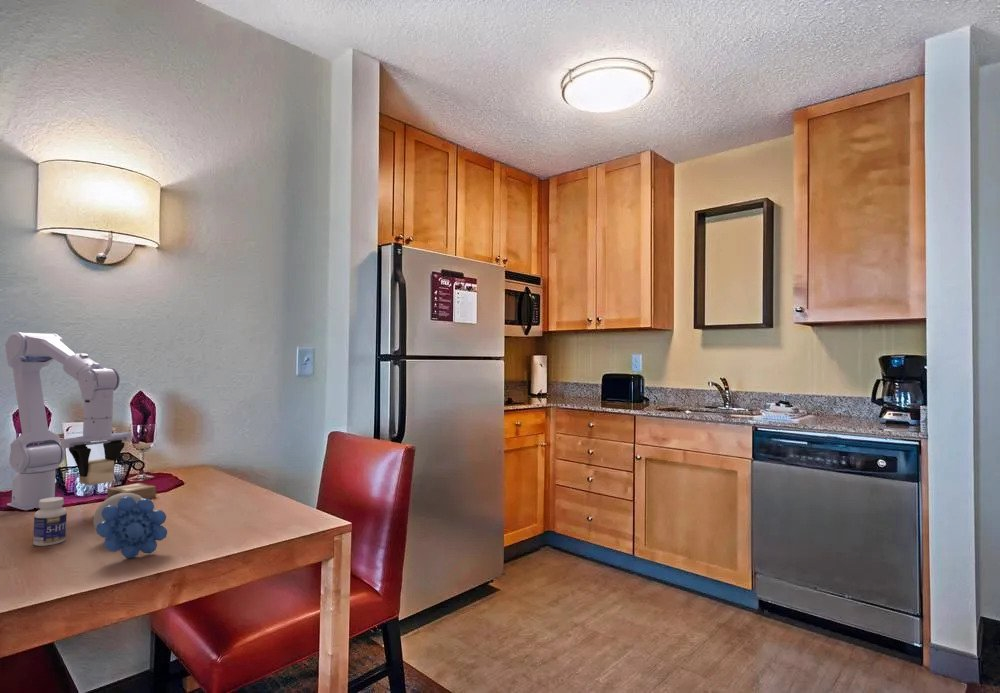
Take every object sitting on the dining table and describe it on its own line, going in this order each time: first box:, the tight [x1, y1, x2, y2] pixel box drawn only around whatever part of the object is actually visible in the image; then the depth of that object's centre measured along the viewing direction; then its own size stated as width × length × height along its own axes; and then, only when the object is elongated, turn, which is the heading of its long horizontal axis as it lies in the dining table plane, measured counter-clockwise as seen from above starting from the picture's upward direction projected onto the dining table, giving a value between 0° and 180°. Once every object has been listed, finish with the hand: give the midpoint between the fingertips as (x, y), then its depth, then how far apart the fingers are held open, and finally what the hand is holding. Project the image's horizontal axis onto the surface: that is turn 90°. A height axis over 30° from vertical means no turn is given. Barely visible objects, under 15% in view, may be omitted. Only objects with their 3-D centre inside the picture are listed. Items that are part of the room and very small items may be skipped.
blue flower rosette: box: [95, 497, 168, 559], centre depth 107 cm, size 12×7×12 cm, turn 129°
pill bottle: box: [32, 496, 68, 547], centre depth 115 cm, size 5×5×9 cm
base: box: [106, 482, 157, 500], centre depth 150 cm, size 8×8×3 cm
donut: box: [92, 493, 143, 540], centre depth 117 cm, size 10×4×10 cm, turn 135°
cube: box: [78, 458, 115, 486], centre depth 135 cm, size 5×5×5 cm
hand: (96, 474), depth 135 cm, fingers closed on cube, 5 cm apart
